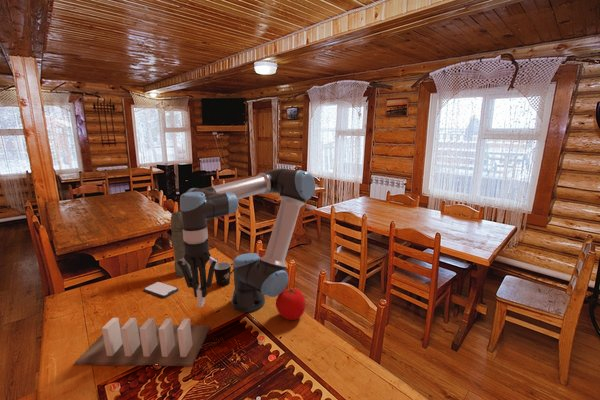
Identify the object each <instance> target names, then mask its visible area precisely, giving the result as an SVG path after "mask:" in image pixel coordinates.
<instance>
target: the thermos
mask: <svg viewBox="0 0 600 400" xmlns="http://www.w3.org/2000/svg"><path fill="white" fill-rule="evenodd" d="M170 228H171V245H172V246H173V253H174V271H175V276H176V277H177V278H184V275H183V272H182V269H181V267H180V266H179V265H178V264H177V262H178V261H179V260H180V259H181V258H184V255H185V251H184V242H185V241H184V240H183V228H182V218H181V210H180V211H174V212H173V213H171V217H170ZM187 265H188V267H189V270H190V273H191V275H192V271H191V267H190V265H189V264H188V263H187Z"/></svg>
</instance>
